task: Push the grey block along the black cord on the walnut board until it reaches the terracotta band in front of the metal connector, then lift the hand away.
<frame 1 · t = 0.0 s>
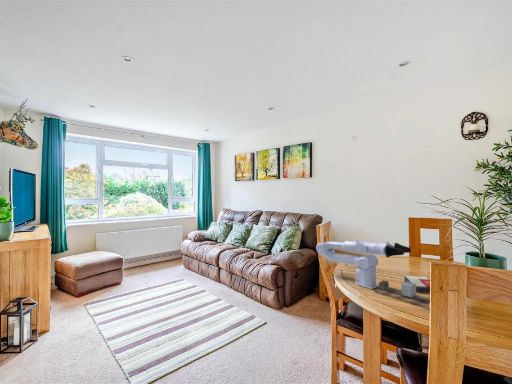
hand: (407, 251, 115), 22 cm above the table, tool horizontal, fingers open, 7 cm apart
grey block: (408, 289, 113), point 4 cm above the table, slide at 0.0 cm
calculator: (421, 288, 126), on the table
cord board: (406, 298, 114), on the table
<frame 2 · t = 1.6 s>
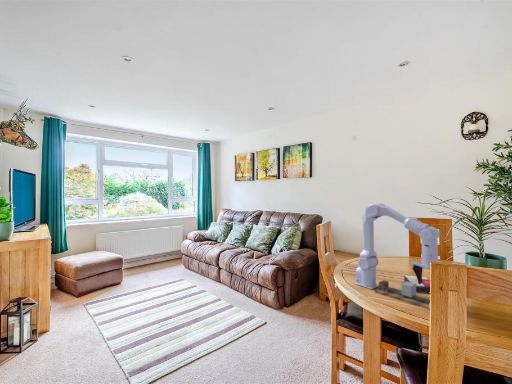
hand: (430, 285, 106), 8 cm above the table, tool pointing down, fingers open, 7 cm apart
nothing on the table moved.
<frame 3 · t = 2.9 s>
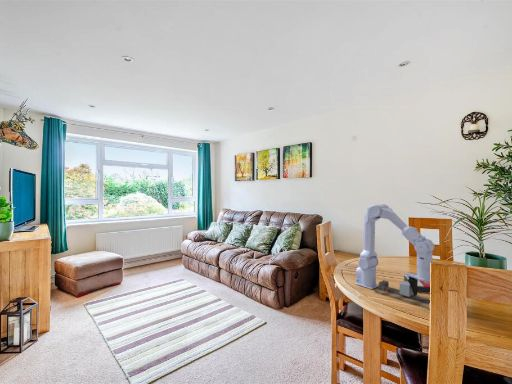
hand: (425, 297, 108), 3 cm above the table, tool pointing down, fingers open, 7 cm apart
grey block: (406, 288, 114), point 4 cm above the table, slide at 0.9 cm, touching gripper
everything else where it was.
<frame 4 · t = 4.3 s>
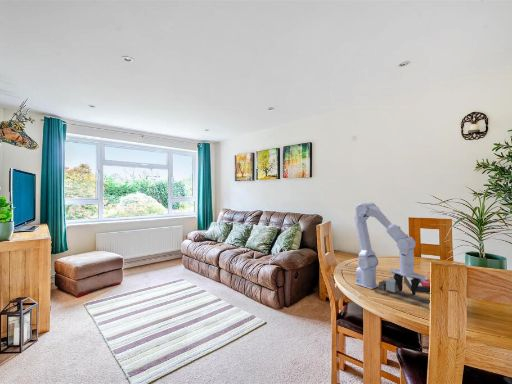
hand: (407, 292, 113), 3 cm above the table, tool pointing down, fingers open, 5 cm apart
grey block: (392, 284, 119), point 4 cm above the table, slide at 7.1 cm, touching gripper
everything else where it was.
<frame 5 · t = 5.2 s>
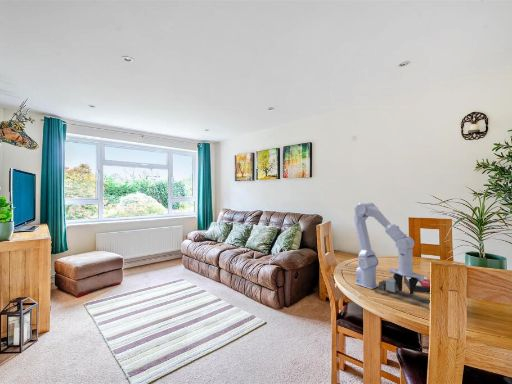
hand: (406, 292, 114), 3 cm above the table, tool pointing down, fingers open, 4 cm apart
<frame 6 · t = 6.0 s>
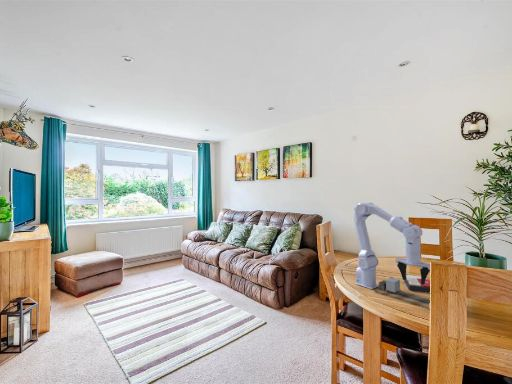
hand: (413, 281, 111), 8 cm above the table, tool pointing down, fingers open, 7 cm apart
grey block: (393, 284, 119), point 4 cm above the table, slide at 7.0 cm
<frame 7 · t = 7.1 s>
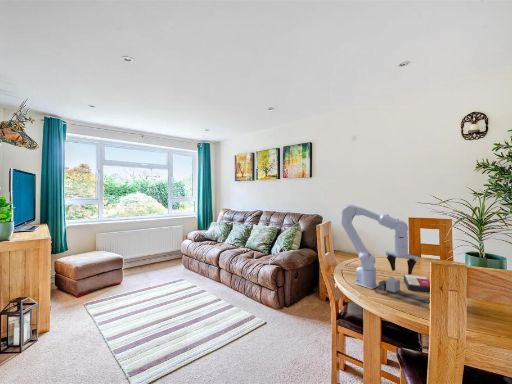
hand: (401, 272, 122), 9 cm above the table, tool pointing down, fingers open, 7 cm apart
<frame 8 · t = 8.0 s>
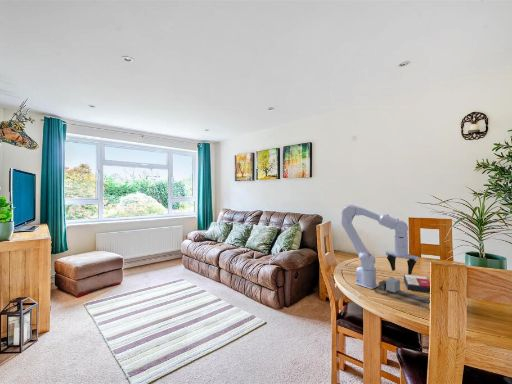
hand: (401, 272, 122), 9 cm above the table, tool pointing down, fingers open, 7 cm apart
at the end: grey block slide at 7.0 cm; the gripper is holding nothing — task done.
